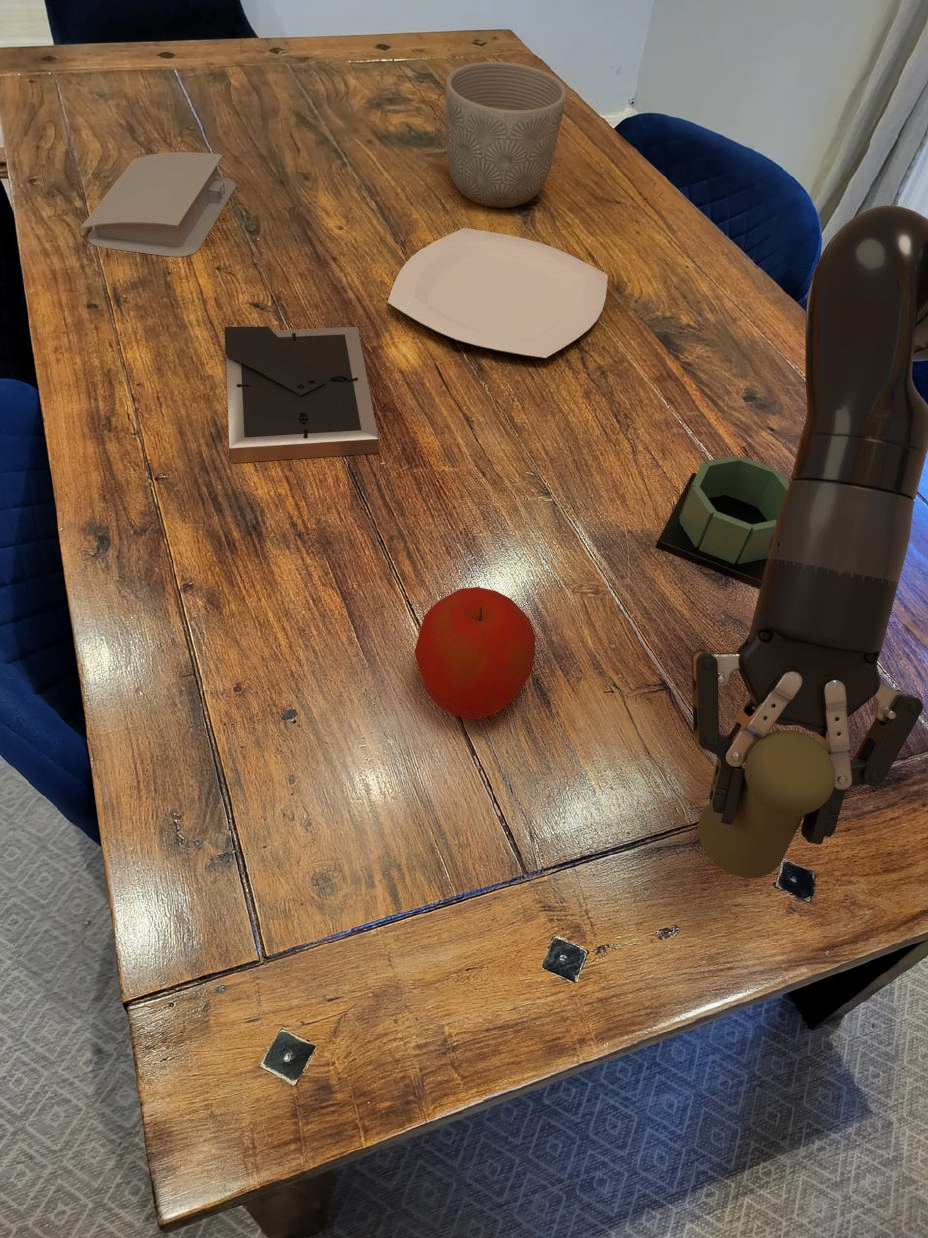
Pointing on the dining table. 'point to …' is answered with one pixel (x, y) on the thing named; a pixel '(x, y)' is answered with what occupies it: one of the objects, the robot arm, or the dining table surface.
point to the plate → (500, 292)
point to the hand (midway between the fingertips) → (767, 828)
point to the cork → (769, 804)
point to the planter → (502, 130)
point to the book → (161, 205)
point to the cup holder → (727, 517)
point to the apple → (475, 652)
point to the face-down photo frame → (297, 394)
